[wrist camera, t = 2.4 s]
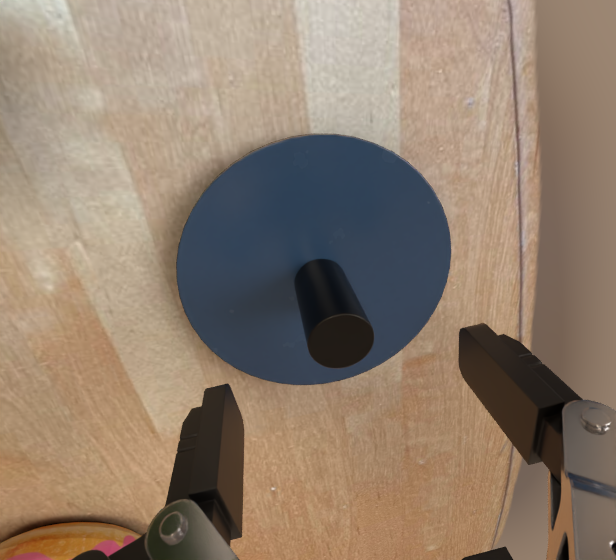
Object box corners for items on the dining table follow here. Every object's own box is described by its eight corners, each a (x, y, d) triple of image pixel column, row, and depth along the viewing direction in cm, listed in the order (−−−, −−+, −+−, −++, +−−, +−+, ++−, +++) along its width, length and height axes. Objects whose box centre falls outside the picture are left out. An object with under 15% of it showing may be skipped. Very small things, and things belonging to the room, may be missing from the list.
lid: (133, 168, 15) (69, 209, 10) (441, 102, 16) (537, 106, 10) (226, 394, 22) (218, 491, 17) (441, 343, 22) (501, 421, 17)
